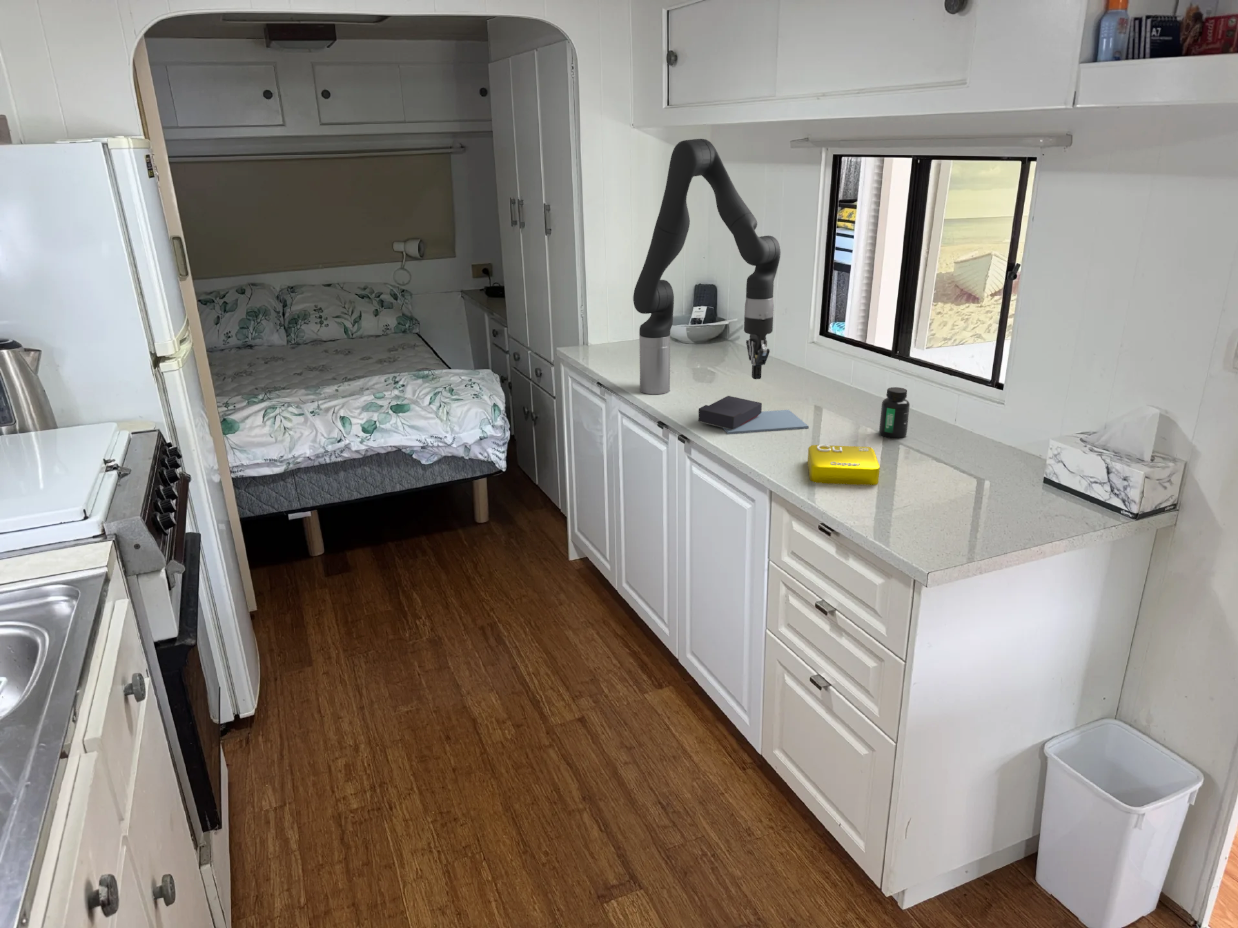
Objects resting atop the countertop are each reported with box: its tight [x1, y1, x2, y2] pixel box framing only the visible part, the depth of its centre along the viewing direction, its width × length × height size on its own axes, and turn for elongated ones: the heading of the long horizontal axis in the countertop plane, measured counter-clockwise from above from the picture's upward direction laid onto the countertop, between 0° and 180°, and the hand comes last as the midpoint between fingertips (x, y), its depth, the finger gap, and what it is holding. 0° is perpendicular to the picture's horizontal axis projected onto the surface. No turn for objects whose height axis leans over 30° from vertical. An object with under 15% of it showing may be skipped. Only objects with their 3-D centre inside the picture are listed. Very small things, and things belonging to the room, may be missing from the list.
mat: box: [721, 409, 810, 435], centre depth 231 cm, size 15×22×1 cm
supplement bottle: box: [878, 386, 911, 440], centre depth 218 cm, size 7×7×12 cm
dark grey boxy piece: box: [698, 395, 763, 430], centre depth 231 cm, size 11×4×15 cm
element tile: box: [806, 444, 881, 486], centre depth 196 cm, size 15×15×5 cm
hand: (756, 378), depth 232 cm, fingers closed
